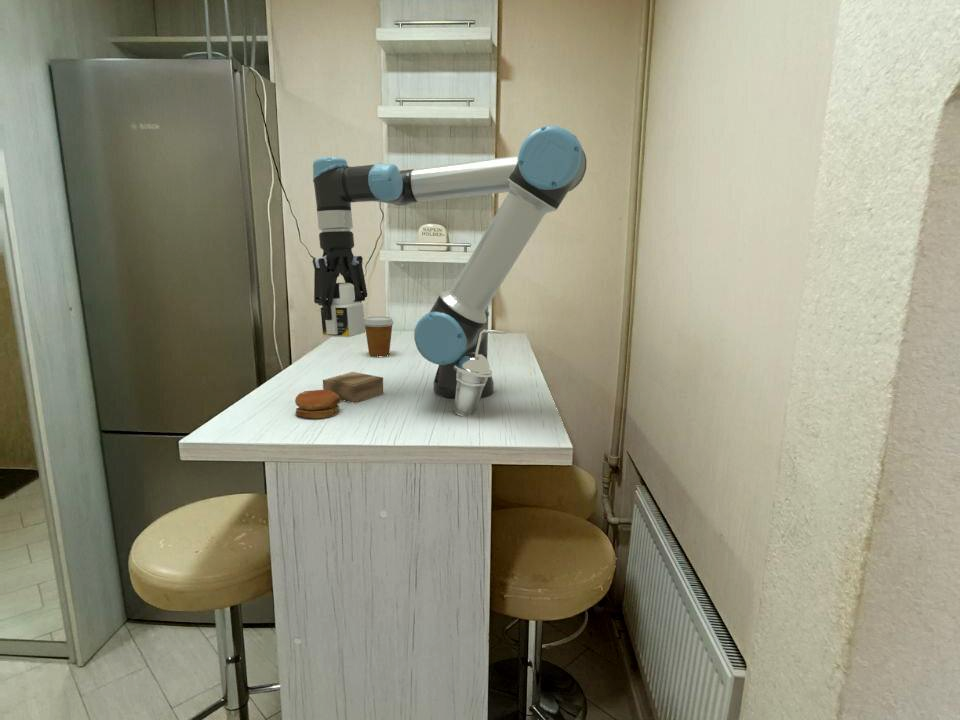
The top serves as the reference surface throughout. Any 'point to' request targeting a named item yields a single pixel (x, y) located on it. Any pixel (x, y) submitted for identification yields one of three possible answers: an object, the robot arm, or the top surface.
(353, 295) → the medicine bottle
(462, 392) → the cup with straw
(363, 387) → the plinth
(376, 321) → the disposable coffee cup
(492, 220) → the robot arm
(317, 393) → the burger
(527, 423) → the top surface
